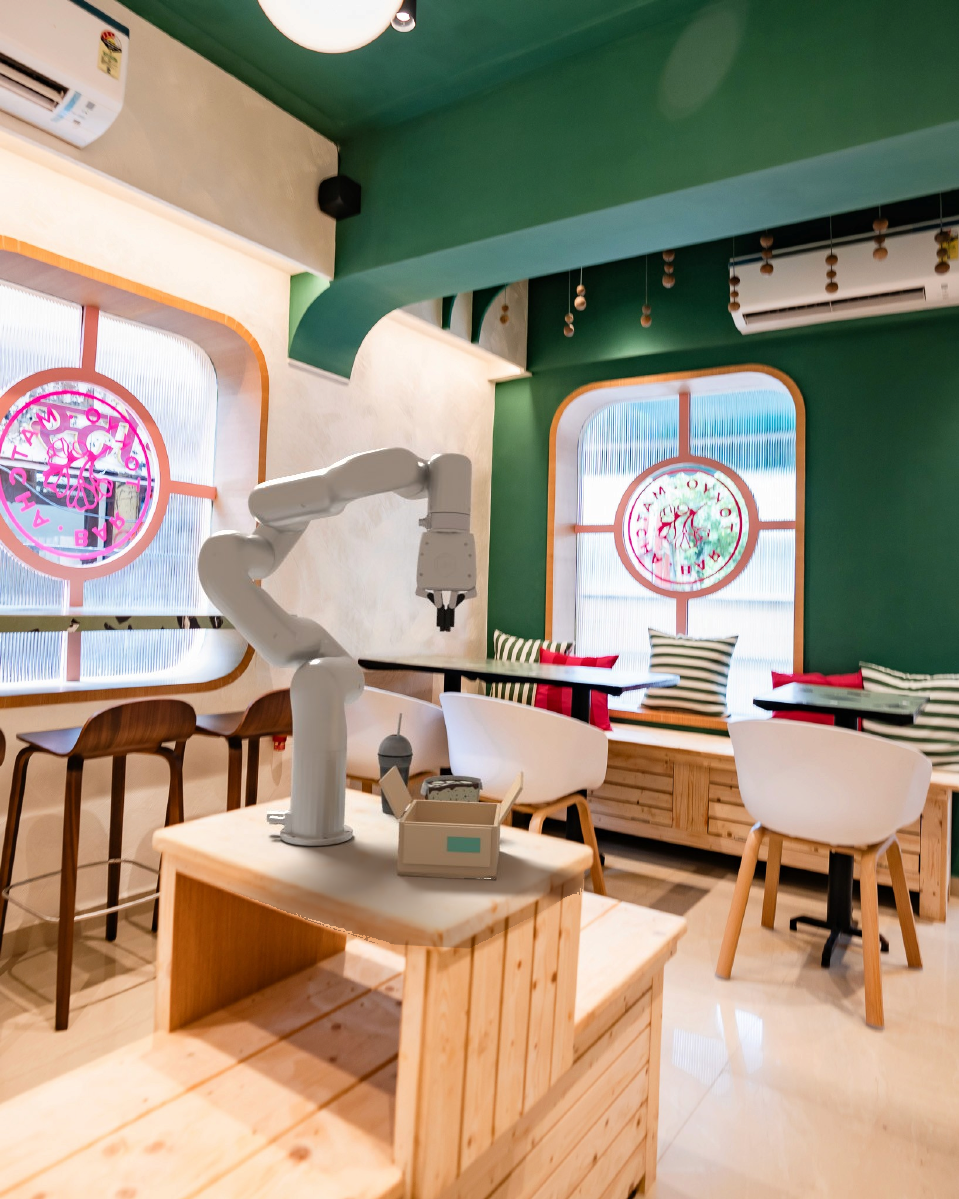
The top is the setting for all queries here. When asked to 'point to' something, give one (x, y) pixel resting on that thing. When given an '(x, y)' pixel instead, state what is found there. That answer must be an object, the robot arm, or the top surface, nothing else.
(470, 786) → the food container
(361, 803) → the top surface
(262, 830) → the top surface
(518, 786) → the right flap
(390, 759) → the beverage cup
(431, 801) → the carton
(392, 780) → the left flap
